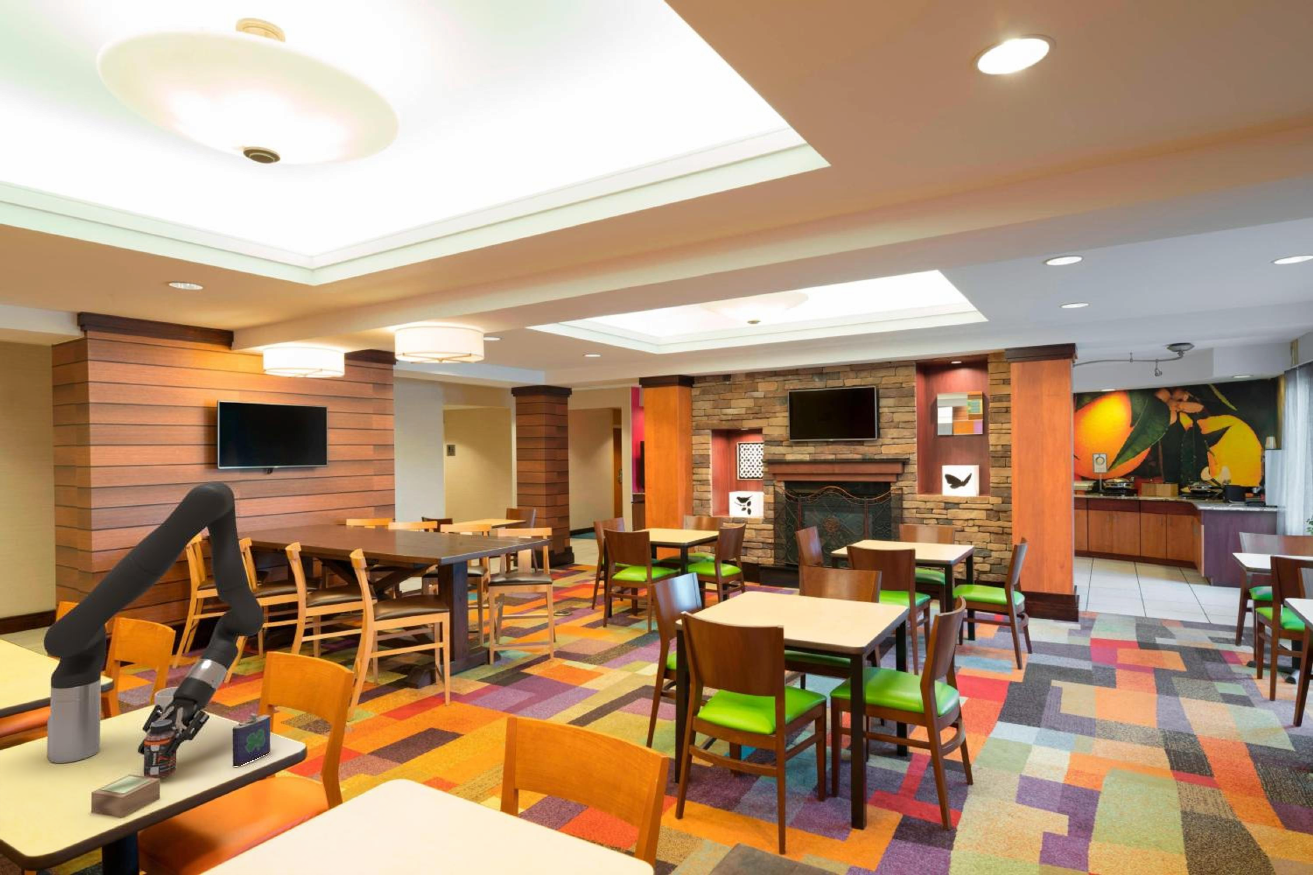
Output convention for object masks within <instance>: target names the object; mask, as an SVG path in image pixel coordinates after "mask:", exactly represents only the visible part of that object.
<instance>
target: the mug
mask: <svg viewBox="0 0 1313 875" xmlns="http://www.w3.org/2000/svg"><path fill="white" fill-rule="evenodd" d="M178 687H179V686H173V687H167V688H164V689H160V690H158V691H157V692H156V693H154V707H155V706H156V705H160V706H161V707H166V706H168V705H169V704H170V703H171V702H172V701H173V694H174V692H175V691H176V689H177V688H178ZM172 728H173V729H174V730H175V727H172Z"/></svg>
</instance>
